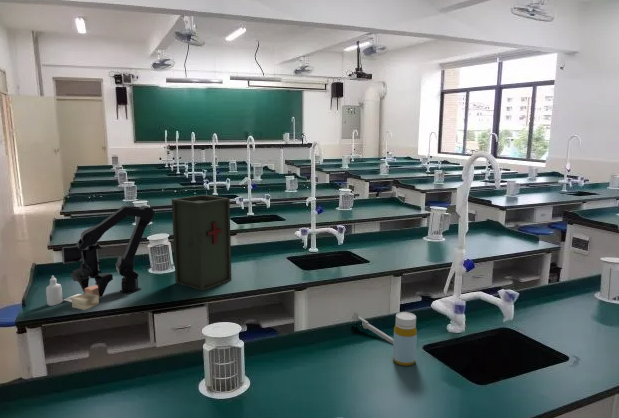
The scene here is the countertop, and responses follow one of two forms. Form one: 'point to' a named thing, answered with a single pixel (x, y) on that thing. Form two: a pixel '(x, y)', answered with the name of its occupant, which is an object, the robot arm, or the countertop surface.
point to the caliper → (371, 327)
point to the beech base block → (85, 301)
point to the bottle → (405, 339)
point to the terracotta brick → (92, 290)
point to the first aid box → (202, 241)
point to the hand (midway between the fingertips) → (93, 294)
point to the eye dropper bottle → (54, 293)
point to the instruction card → (71, 298)
